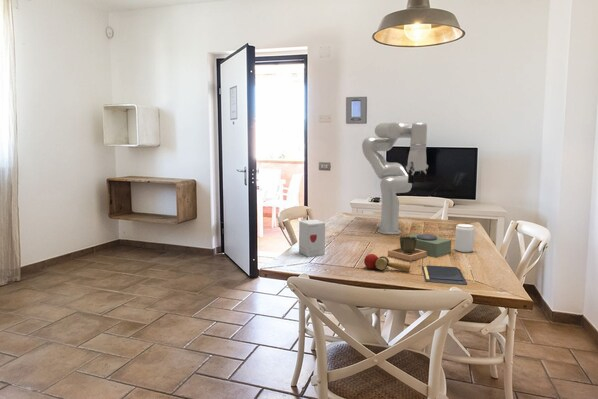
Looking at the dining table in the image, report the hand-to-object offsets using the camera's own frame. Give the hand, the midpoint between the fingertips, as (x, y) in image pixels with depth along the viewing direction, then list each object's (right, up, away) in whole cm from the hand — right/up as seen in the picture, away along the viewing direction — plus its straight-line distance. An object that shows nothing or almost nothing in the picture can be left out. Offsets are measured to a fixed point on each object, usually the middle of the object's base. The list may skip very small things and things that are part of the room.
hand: (416, 182), depth 208 cm
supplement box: (-53, -33, -18) cm, 65 cm away
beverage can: (+18, -33, -13) cm, 40 cm away
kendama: (-24, -37, -41) cm, 60 cm away
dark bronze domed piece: (-11, -33, -22) cm, 42 cm away
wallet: (-4, -38, -48) cm, 62 cm away
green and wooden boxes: (-5, -33, -18) cm, 38 cm away
